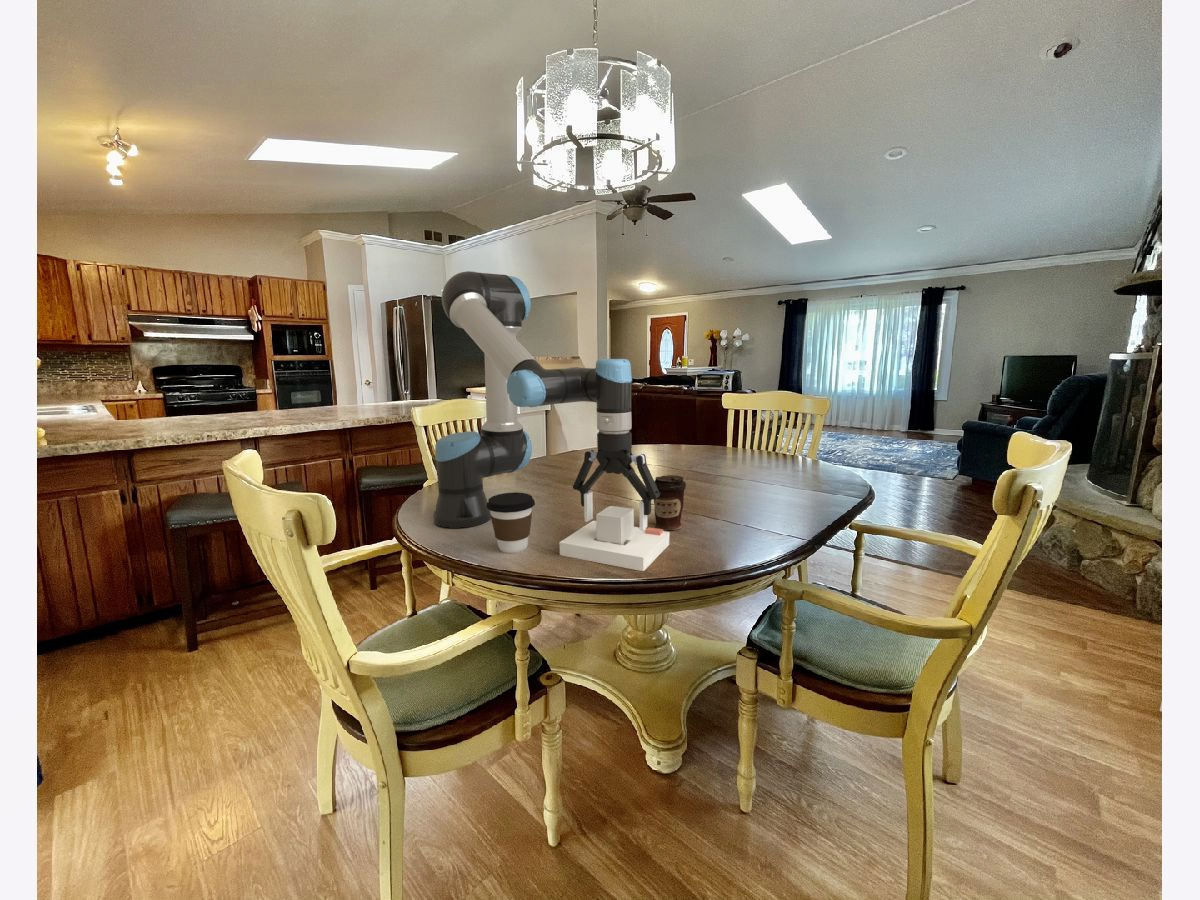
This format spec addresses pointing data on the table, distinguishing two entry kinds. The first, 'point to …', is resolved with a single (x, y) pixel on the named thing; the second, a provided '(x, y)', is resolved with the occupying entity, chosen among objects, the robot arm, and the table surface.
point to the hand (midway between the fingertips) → (615, 524)
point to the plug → (615, 524)
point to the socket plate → (616, 547)
